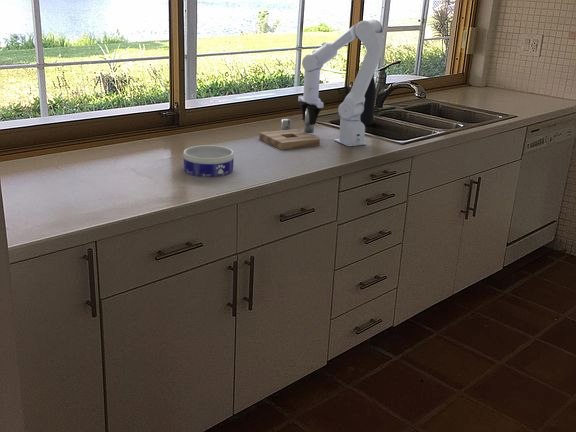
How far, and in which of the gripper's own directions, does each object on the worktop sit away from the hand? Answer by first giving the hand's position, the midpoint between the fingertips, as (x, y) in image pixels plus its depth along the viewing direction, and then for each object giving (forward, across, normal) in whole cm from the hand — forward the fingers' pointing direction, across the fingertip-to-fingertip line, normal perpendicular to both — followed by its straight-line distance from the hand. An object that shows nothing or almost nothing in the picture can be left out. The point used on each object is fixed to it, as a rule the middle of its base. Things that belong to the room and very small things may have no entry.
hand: (309, 123), depth 243 cm
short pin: (+4, +7, +6) cm, 10 cm away
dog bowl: (+5, -27, +54) cm, 61 cm away
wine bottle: (+5, +9, -34) cm, 36 cm away
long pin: (+3, 0, 0) cm, 3 cm away
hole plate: (+4, -7, +13) cm, 15 cm away
